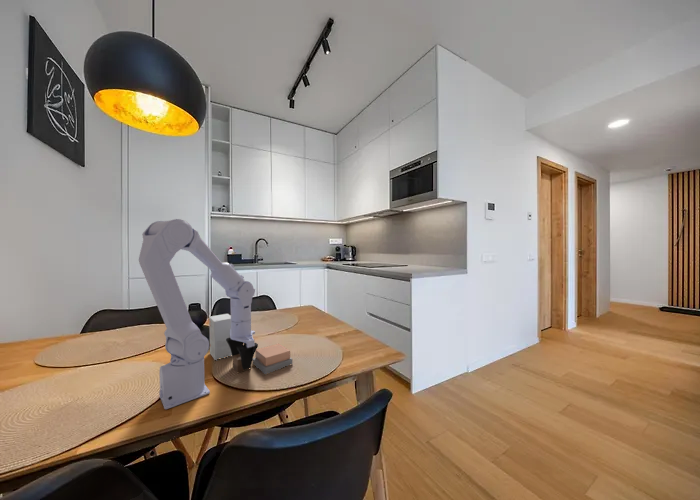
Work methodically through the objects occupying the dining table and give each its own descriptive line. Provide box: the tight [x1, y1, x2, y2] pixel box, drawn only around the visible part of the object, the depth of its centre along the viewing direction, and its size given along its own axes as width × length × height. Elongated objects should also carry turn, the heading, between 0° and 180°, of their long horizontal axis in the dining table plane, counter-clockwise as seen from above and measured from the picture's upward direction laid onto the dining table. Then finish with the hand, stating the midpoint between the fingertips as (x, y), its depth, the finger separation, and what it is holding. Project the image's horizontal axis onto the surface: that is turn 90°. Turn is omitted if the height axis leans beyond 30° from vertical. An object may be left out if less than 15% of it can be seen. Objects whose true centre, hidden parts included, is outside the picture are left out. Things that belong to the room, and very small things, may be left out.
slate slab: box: [252, 357, 293, 375], centre depth 81 cm, size 9×9×2 cm
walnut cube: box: [232, 354, 252, 373], centre depth 79 cm, size 4×4×4 cm
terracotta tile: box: [254, 343, 291, 366], centre depth 82 cm, size 8×8×2 cm
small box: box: [208, 313, 232, 361], centre depth 89 cm, size 8×6×13 cm
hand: (241, 363), depth 79 cm, fingers open, 7 cm apart
